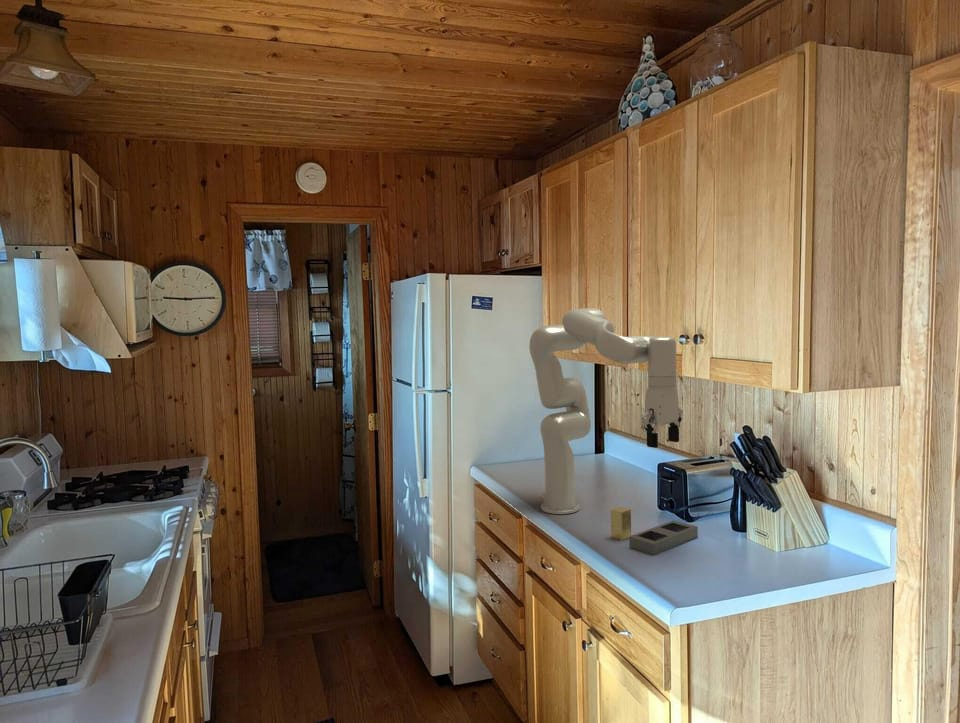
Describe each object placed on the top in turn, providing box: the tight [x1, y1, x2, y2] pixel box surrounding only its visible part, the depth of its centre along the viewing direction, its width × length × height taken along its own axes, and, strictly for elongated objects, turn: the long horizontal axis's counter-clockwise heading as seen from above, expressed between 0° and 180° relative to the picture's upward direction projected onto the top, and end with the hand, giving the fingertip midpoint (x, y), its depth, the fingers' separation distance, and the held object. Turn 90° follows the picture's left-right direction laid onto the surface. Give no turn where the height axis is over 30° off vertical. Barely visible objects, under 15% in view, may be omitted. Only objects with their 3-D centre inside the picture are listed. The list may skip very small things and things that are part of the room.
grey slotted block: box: [628, 519, 699, 556], centre depth 188 cm, size 8×20×3 cm, turn 129°
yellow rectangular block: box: [610, 506, 632, 541], centre depth 193 cm, size 4×4×8 cm
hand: (663, 444), depth 186 cm, fingers open, 9 cm apart
